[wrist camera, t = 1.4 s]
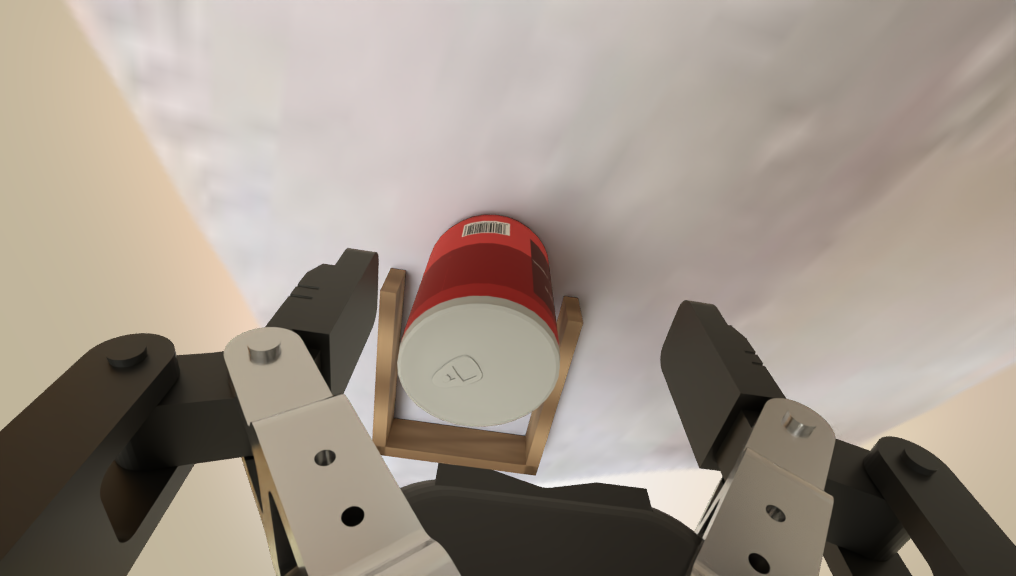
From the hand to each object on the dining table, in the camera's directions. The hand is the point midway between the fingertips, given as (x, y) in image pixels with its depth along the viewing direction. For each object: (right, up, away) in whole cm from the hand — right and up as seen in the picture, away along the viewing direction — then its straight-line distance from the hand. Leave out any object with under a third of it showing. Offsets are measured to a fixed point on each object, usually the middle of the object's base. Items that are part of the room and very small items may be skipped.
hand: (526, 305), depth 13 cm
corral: (-3, -6, +24) cm, 25 cm away
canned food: (-2, +2, +20) cm, 20 cm away
